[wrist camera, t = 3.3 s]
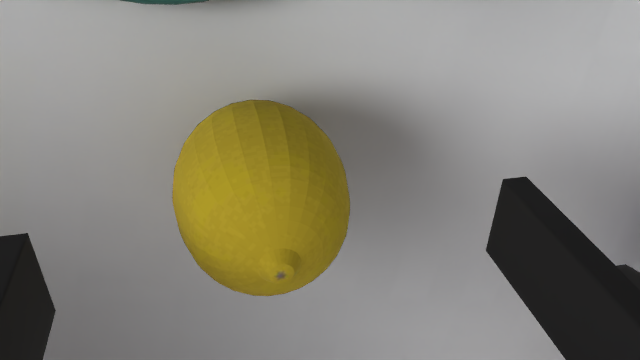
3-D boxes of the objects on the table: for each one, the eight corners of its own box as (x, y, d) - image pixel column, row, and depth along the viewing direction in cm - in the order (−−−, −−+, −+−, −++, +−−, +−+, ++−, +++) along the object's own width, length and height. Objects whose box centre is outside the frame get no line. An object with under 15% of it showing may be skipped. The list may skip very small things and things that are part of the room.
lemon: (195, 46, 18) (208, 165, 12) (338, 90, 20) (417, 211, 14) (156, 178, 21) (148, 339, 14) (288, 206, 23) (334, 356, 16)
